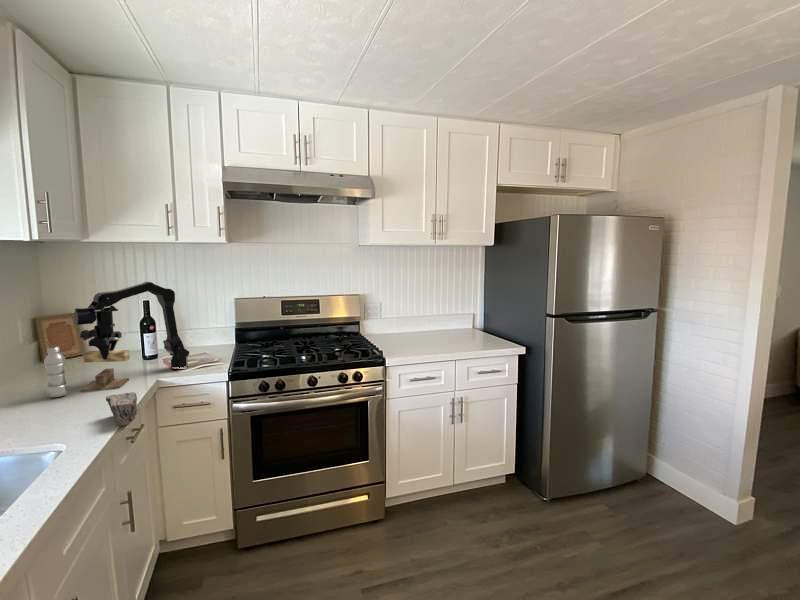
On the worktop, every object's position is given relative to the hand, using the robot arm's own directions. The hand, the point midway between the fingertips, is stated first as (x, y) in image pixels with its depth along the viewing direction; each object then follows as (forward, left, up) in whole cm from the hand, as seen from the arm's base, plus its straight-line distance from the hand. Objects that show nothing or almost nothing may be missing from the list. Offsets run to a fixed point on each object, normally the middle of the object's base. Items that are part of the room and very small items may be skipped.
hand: (107, 358), depth 181 cm
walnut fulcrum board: (+1, +2, -12) cm, 12 cm away
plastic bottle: (+14, +12, -12) cm, 22 cm away
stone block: (-18, +44, -12) cm, 49 cm away
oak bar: (0, 0, -1) cm, 1 cm away
